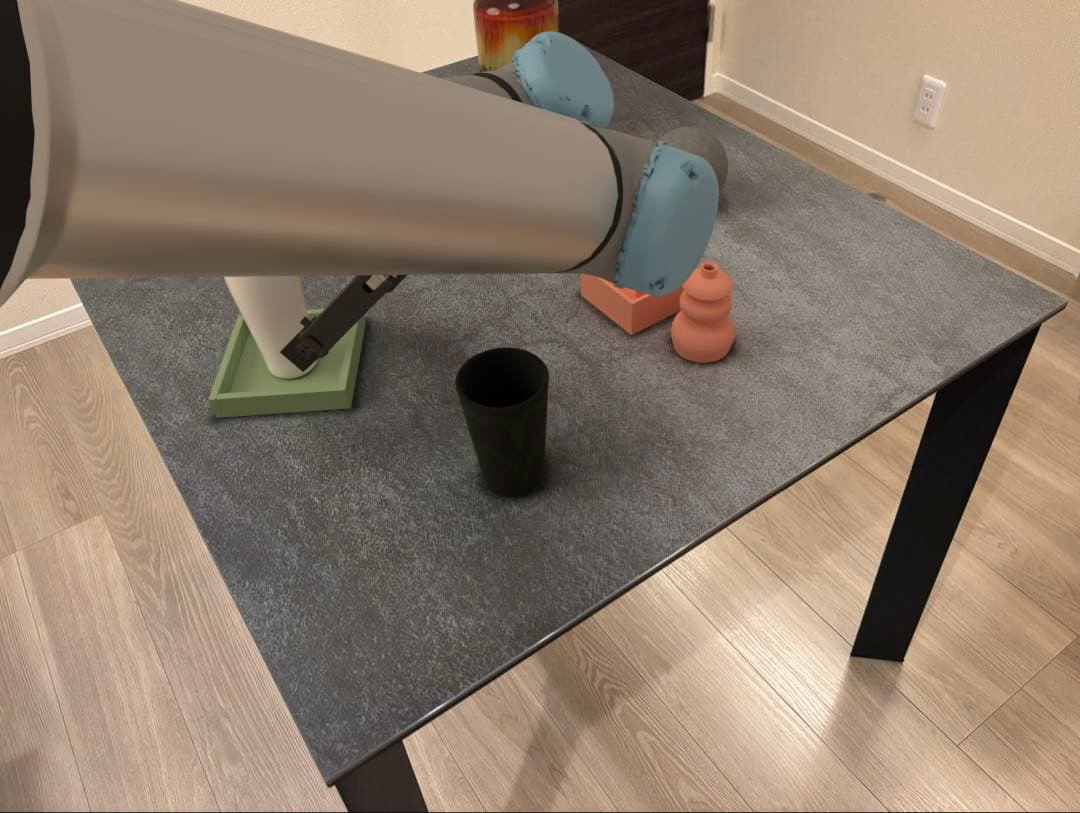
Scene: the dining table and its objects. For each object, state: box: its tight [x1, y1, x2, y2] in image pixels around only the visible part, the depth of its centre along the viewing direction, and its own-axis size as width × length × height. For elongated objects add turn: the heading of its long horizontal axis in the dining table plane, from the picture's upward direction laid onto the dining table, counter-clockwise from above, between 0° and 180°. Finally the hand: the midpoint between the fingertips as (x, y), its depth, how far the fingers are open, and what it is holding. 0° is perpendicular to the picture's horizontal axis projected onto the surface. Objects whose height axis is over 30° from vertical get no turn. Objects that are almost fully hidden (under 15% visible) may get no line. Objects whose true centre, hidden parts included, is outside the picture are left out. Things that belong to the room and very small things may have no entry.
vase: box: [472, 0, 560, 72], centre depth 111 cm, size 11×11×26 cm
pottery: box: [580, 261, 736, 364], centre depth 87 cm, size 18×10×10 cm, turn 34°
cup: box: [454, 346, 550, 499], centre depth 71 cm, size 8×8×12 cm
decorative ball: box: [658, 126, 729, 193], centre depth 103 cm, size 10×10×10 cm
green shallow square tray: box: [207, 307, 367, 419], centre depth 87 cm, size 14×14×3 cm
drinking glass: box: [223, 276, 318, 379], centre depth 82 cm, size 7×7×15 cm
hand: (332, 315), depth 79 cm, fingers open, 13 cm apart
